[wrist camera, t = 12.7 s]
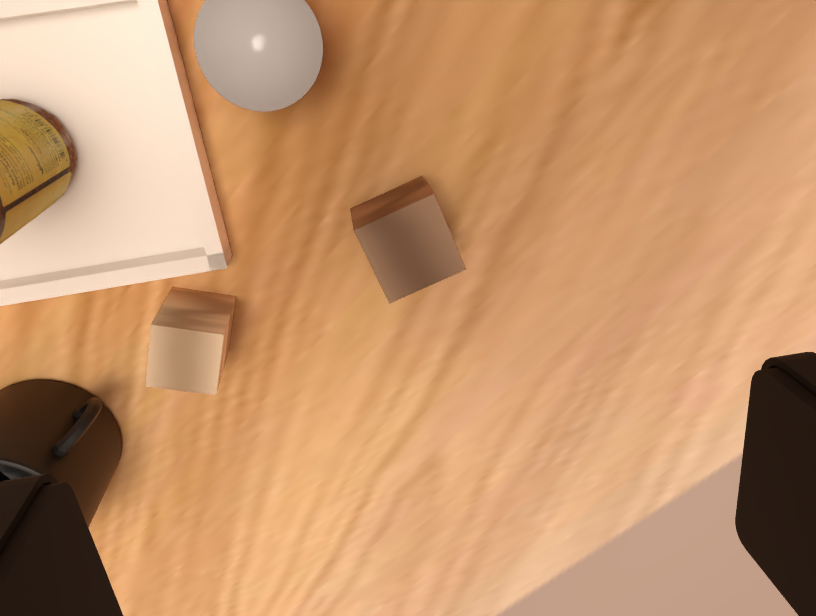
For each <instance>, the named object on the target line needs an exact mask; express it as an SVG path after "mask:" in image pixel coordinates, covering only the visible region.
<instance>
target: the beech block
mask: <svg viewBox="0 0 816 616" xmlns="http://www.w3.org/2000/svg"><path fill="white" fill-rule="evenodd" d="M235 300H236V296H230V295H223V294H216V293H210V292H203V291H197V290H190V289H183V288H177V287H172V289H171V290H170V292H169V294H168V296H167V297H166V299H165V301H164V303H163V304H162V306H161V308H160V310H159V311H158V313H157V315H156V317H155V318H154V320H153V322H152V324H151V330H150V342H149V354H148V366H147V378H146V387H153V388H161V389H169V390H178V391H186V392H194V393H202V394H211V395H216V394H217V391H218V387H219V384H220V380H221V377H222V373H223V369H224V366H225V362H226V359H227V355H228V352H229V346H230V338H231V330H232V323H233V315H234V307H235Z"/></svg>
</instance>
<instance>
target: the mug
mask: <svg viewBox="0 0 816 616" xmlns="http://www.w3.org/2000/svg"><path fill="white" fill-rule="evenodd" d="M121 449H122V443H121V436H120V432H119V428H118V426H117V424H116V421H115V419H114V418H113V416H112V415H111V413H110V412H109V410H108V409H107V408H106V407H105V406H104V405H103V402H102V401H101V400H100V399H99V398H98V397H94V396H92V395H90V394H89V393H87V392H85V391H84V390H82V389H79V388H77V387H75V386H72V385H69V384H65V383H62V382H56V381H48V380H35V381H26V382H22V383H18V384H14V385H11V386H9V387H6V388H4V389H2V390H0V482H2V481H5V480H10V479H16V478H23V477H29V476H35V475H41V474H50V475H53V476H54V477H55V478H56V479H57V481H58V483H62V482H65V483H68V484H69V485H70V486H71V487H72V489H73V491H74V493H75V496H76V498H77V501H78V504H79V506H80V509H81V511H82V514H83V516H84V519H85V521H86V524H87V526H88V527H89V525H90V523H91V521H92V519H93V517H94V515H95V512H96V510H97V508H98V506H99V504H100V502H101V499H102V497H103V495H104V493H105V491H106V489H107V487H108V484H109V482H110V480H111V478H112V476H113V474H114V471H115V469H116V467H117V465H118V462H119V459H120V456H121Z"/></svg>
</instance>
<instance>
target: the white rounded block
mask: <svg viewBox="0 0 816 616" xmlns="http://www.w3.org/2000/svg"><path fill="white" fill-rule="evenodd" d="M194 47H195V53H196V57H197V60H198V64H199V66H200V68H201V70H202V73H203V74H204V76H205V78H206V79H207V81H208V82H209V83H210V85H211V86H212V87H213V88H214V89H215V90H216V91H217V92H218V93H219V94H220V95H221V96H222V97H224V98H225V99H226V100H228V101H229V102H231V103H233V104H235V105H237V106H239V107H242V108H245V109H248V110H253V111H262V112H266V111H275V110H279V109H283V108H285V107H288V106H290V105H292V104H294V103H295V102H297V101H298V100H299V99H301V98H302V97H303V96H304V95H305V94H306V93H307V92H308V91H309V89H310V88H311V87H312V85H313V84H314V82H315V80H316V78H317V76H318V74H319V71H320V67H321V64H322V57H323V41H322V35H321V30H320V27H319V24H318V21H317V19H316V17H315V15H314V13H313V11H312V10H311V8H310V7H309V5H308V4H307V3H306V1H305V0H205V2H204V3H203V5H202V7H201V9H200V11H199V13H198V16H197V19H196V23H195V28H194Z"/></svg>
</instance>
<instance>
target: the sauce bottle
mask: <svg viewBox="0 0 816 616" xmlns="http://www.w3.org/2000/svg"><path fill="white" fill-rule="evenodd" d="M76 161H77V157H76V153H75V148H74V145H73V143H72V141H71V138H70V137H69V136H68V134H67V132H66V131H65V129H64V128H63V126H62V125H61V124H60V123H59V121H58V120H57V119H56V118H55V117H54V116H53V115H51V114H50V113H48V112H47V111H45V110H44V109H41V108H39V107H37V106H35V105H33V104H31V103H28V102H24V101H20V100H16V99H1V100H0V244H1V243H3V242H4V241H5V240H7V239H8V238H9V237H11V236H12V235H13V234H15V233H16V232H17V231H18V230H20V229H21V228H22V227H24V226H25V225H26V224H28V223H29V222H30V221H32V220H33V219H35V218H36V217H37V216H39V215H40V214H41V213H42V212H44V211H45V210H46V209H48V208H49V207H50V206H51V205H53V204H54V203H55V202H56V201H57V200H58V199H59V198H60V197H61V196H63V195H64V193H65V191H66V189H67V187H68V186H69V184H70V183H71V180H72V178H73V175H74V171H75V167H76Z"/></svg>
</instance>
